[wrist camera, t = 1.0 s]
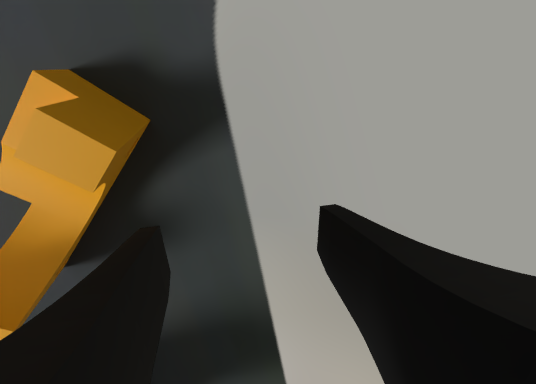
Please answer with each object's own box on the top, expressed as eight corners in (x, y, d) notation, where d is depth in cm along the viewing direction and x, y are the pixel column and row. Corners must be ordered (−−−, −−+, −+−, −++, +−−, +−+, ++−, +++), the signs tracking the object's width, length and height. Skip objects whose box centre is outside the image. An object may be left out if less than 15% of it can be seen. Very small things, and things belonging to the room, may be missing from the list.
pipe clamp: (69, 69, 14) (-32, 72, 8) (151, 119, 15) (116, 151, 10) (-12, 239, 16) (-131, 333, 11) (65, 265, 18) (-2, 358, 12)
